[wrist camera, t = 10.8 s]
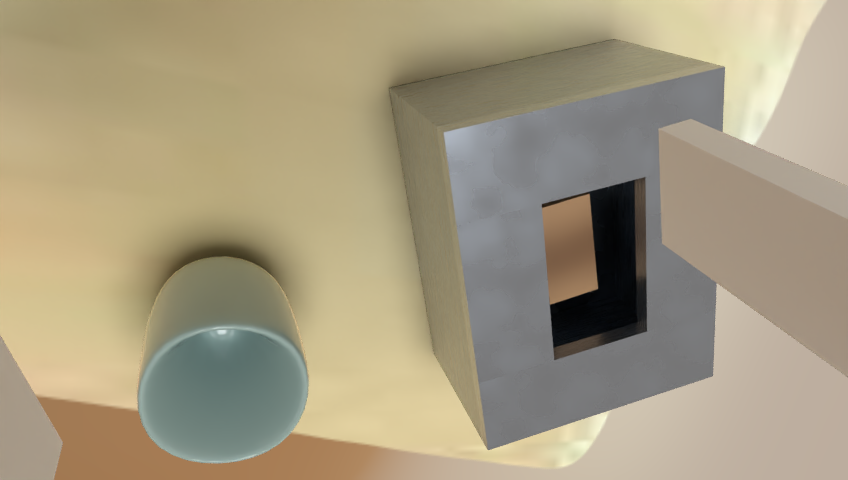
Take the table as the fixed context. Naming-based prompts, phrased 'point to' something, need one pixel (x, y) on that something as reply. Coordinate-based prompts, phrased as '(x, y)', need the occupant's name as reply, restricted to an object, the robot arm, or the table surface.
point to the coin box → (524, 233)
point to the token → (569, 247)
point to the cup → (221, 363)
